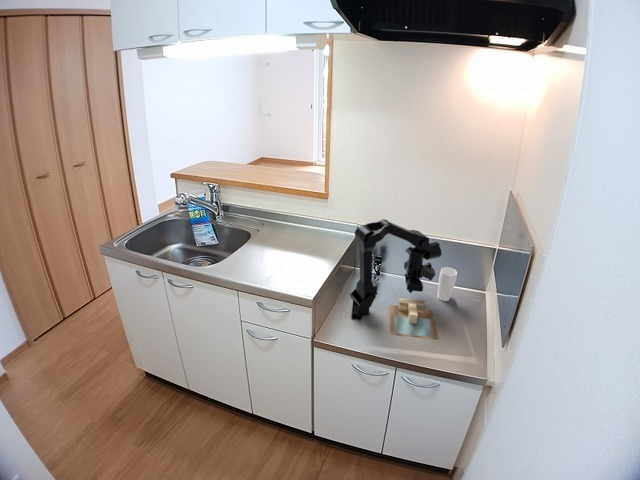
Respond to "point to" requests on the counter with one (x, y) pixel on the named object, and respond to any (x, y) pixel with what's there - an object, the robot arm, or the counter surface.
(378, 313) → the counter surface
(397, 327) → the push board
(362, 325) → the counter surface
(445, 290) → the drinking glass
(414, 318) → the t block
